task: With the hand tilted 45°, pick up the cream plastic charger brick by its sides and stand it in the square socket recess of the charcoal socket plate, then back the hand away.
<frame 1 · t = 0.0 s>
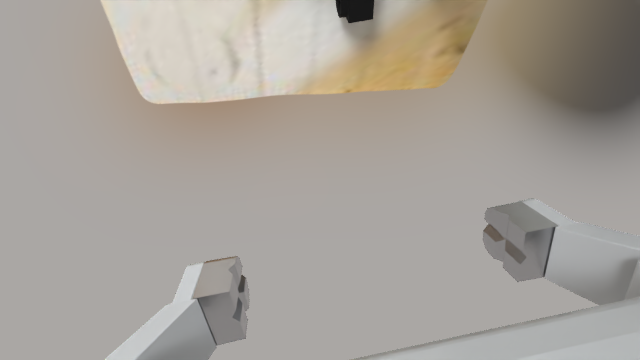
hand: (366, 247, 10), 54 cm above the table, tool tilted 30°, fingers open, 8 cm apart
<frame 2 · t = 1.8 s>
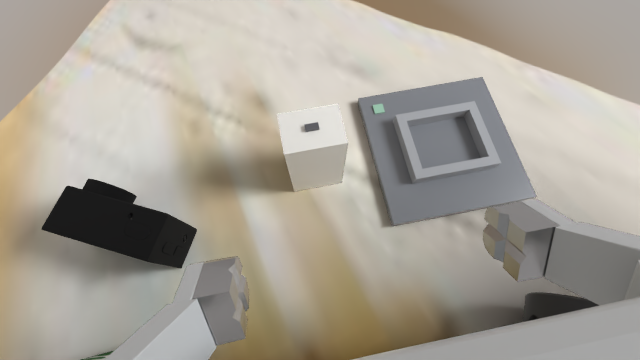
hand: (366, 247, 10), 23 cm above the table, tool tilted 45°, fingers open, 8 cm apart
charger brick: (314, 171, 36), on the table
socket plate: (439, 148, 37), on the table
digital camera: (150, 230, 34), on the table
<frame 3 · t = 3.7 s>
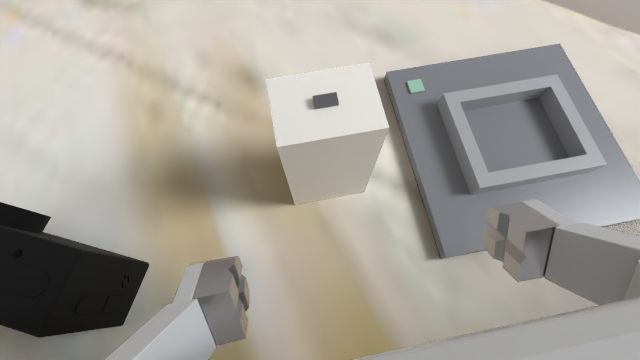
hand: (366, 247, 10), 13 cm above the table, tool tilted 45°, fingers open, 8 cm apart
charger brick: (324, 174, 25), on the table
socket plate: (503, 142, 26), on the table
digital camera: (80, 266, 23), on the table
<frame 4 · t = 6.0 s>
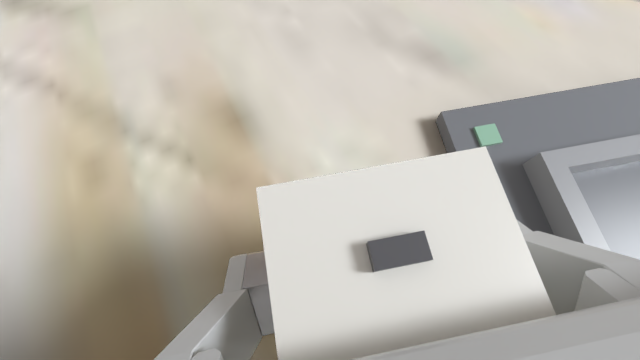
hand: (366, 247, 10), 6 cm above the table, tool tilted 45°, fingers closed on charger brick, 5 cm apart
charger brick: (352, 278, 16), on the table, touching gripper
socket plate: (624, 223, 17), on the table
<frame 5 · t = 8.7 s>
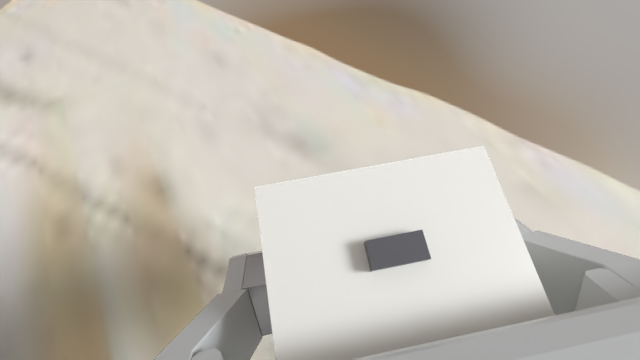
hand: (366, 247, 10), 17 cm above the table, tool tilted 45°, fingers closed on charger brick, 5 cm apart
charger brick: (351, 277, 16), point 11 cm above the table, touching gripper
when the fingers open (9 cm above the table, at t = 11.4 s): charger brick drops 1 cm, resting on socket plate.
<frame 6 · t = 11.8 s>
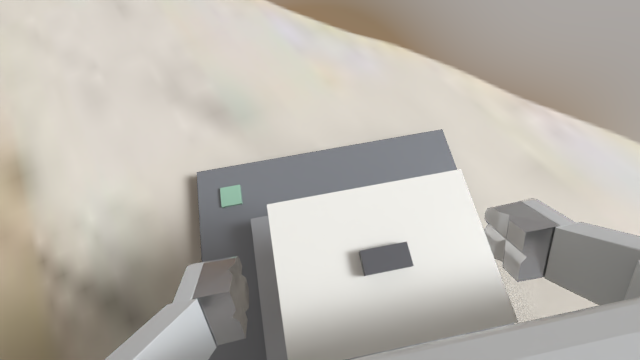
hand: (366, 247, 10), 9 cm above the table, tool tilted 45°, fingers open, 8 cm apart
charger brick: (350, 278, 17), point 1 cm above the table, touching socket plate
socket plate: (348, 279, 18), on the table
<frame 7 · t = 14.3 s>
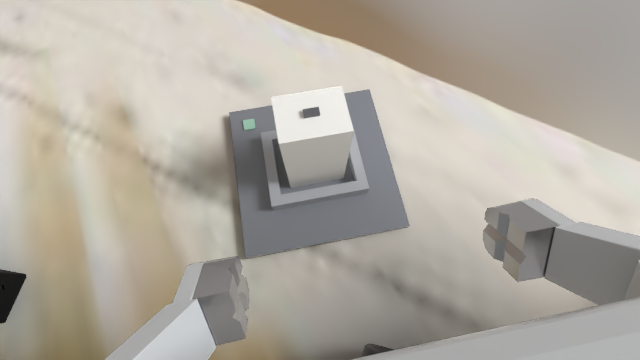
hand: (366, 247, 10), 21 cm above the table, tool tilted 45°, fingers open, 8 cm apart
charger brick: (313, 165, 33), point 1 cm above the table, touching socket plate
socket plate: (313, 168, 34), on the table
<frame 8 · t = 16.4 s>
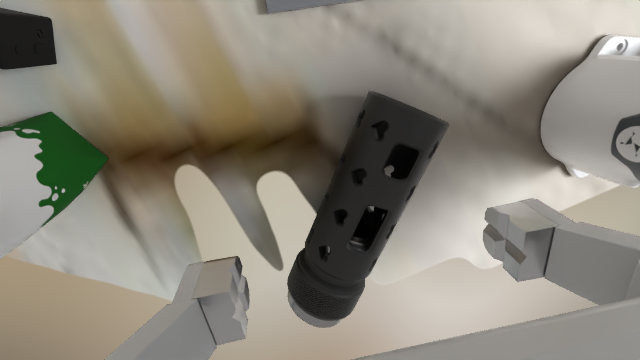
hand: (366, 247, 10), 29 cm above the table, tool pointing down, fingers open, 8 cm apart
milk carton: (63, 154, 36), on the table
muzzle brake: (346, 195, 43), on the table
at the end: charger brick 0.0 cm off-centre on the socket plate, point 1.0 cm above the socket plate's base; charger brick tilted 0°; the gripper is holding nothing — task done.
